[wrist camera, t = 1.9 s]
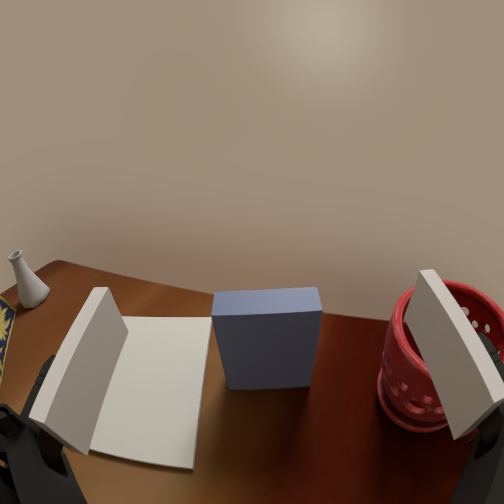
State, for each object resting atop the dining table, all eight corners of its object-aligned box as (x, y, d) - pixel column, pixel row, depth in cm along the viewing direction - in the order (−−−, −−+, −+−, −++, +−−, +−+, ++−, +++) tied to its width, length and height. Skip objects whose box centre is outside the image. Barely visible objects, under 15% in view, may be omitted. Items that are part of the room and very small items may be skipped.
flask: (35, 312, 40) (11, 267, 35) (16, 306, 42) (-7, 264, 36) (56, 288, 46) (36, 244, 41) (36, 284, 48) (17, 243, 42)
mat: (193, 469, 21) (192, 468, 21) (75, 445, 22) (72, 443, 22) (212, 320, 39) (211, 317, 39) (121, 319, 40) (120, 316, 39)
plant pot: (395, 336, 34) (421, 261, 27) (474, 378, 25) (520, 308, 19) (340, 408, 26) (367, 337, 20) (436, 463, 18) (504, 409, 12)
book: (310, 386, 29) (322, 310, 23) (228, 389, 30) (211, 315, 23) (307, 364, 32) (316, 286, 25) (230, 368, 32) (215, 291, 26)
